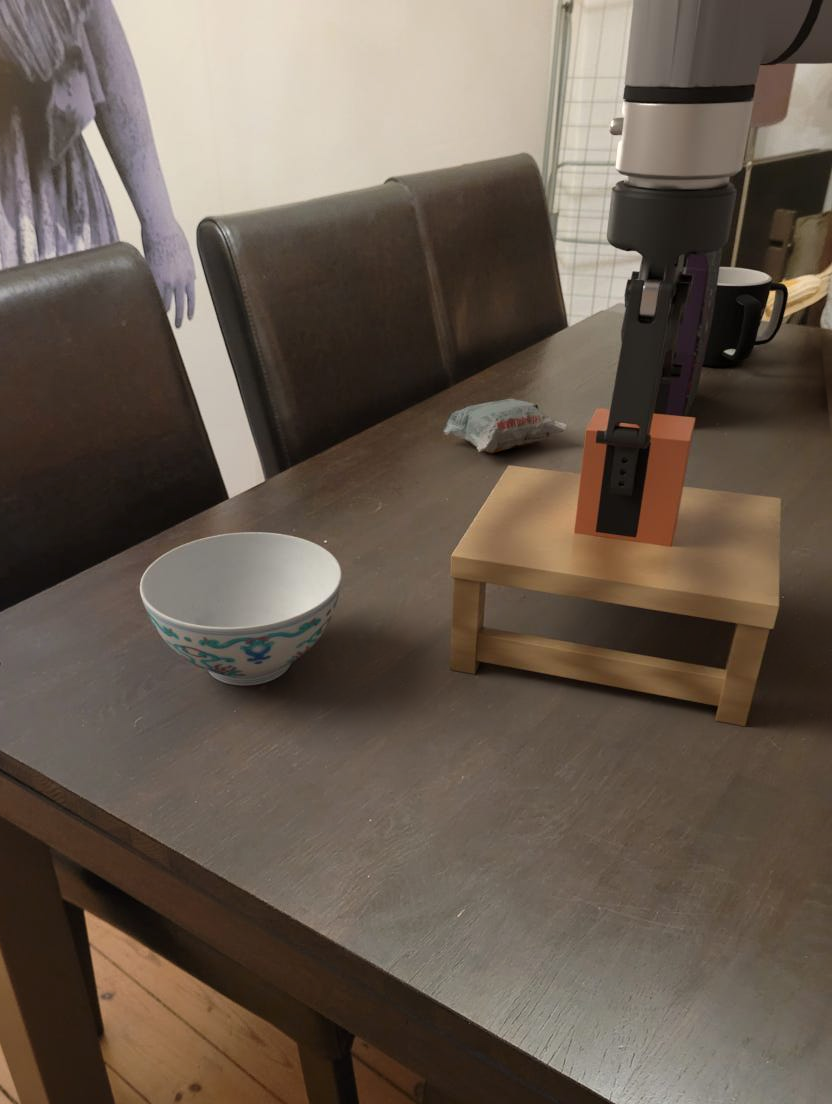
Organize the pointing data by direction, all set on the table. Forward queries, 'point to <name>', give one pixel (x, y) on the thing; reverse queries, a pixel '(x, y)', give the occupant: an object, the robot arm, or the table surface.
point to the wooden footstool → (622, 585)
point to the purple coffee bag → (694, 331)
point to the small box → (660, 482)
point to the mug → (742, 315)
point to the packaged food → (502, 425)
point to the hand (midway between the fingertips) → (629, 494)
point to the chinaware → (242, 602)
